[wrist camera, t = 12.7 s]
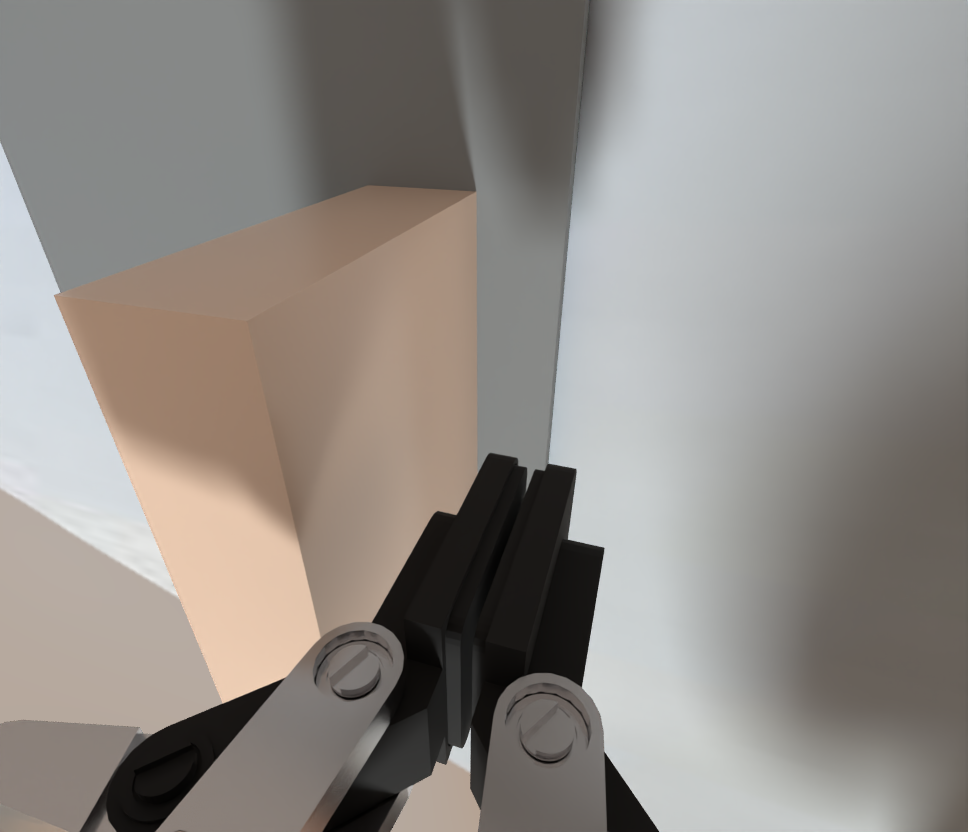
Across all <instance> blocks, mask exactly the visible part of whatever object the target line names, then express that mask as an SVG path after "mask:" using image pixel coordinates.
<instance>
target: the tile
mask: <svg viewBox="0 0 968 832" xmlns="http://www.w3.org/2000/svg"><path fill="white" fill-rule="evenodd" d="M54 297H55V299H56V302H57V304H58V306H59V309H60V311H61V314H62V316H63V319H64V321H65V323H66V326H67V328H68V331H69V333H70V335H71V338H72V340H73V343H74V345H75V347H76V350H77V352H78V355H79V357H80V360H81V362H82V364H83V367H84V369H85V372H86V374H87V376H88V379H89V381H90V384H91V386H92V388H93V391H94V393H95V396H96V398H97V401H98V403H99V405H100V408H101V410H102V413H103V415H104V417H105V420H106V422H107V425H108V427H109V430H110V432H111V434H112V437H113V439H114V442H115V444H116V446H117V449H118V451H119V454H120V456H121V458H122V461H123V463H124V466H125V468H126V471H127V473H128V475H129V478H130V480H131V483H132V485H133V487H134V490H135V492H136V495H137V497H138V499H139V502H140V504H141V507H142V509H143V512H144V514H145V516H146V519H147V521H148V524H149V526H150V528H151V531H152V533H153V536H154V538H155V541H156V543H157V545H158V548H159V550H160V553H161V555H162V557H163V560H164V562H165V565H166V567H167V569H168V572H169V574H170V577H171V579H172V582H173V584H174V586H175V589H176V591H177V594H178V596H179V598H180V601H181V603H182V606H183V608H184V610H185V613H186V615H187V618H188V620H189V623H190V625H191V627H192V630H193V632H194V635H195V637H196V639H197V642H198V644H199V647H200V649H201V651H202V654H203V656H204V659H205V661H206V664H207V666H208V668H209V671H210V673H211V676H212V678H213V680H214V683H215V685H216V688H217V690H218V693H219V695H220V697H221V700H222V702H223V703H225V702H228V701H230V700H233V699H235V698H237V697H240V696H242V695H245V694H247V693H249V692H252V691H254V690H257V689H259V688H261V687H264V686H266V685H269V684H271V683H274V682H276V681H278V680H281V679H283V678H286V677H287V676H288V674H289V673H290V672H291V671H292V670H293V668H294V667H295V666H296V665H297V664H298V662H299V661H300V660H301V659H302V658H303V657H304V655H305V654H306V653H307V652H308V651H309V649H310V648H311V647H312V646H313V645H314V644H315V643H316V642H317V641H318V640H319V639H320V638H321V637H322V636H324V635H325V634H326V633H328V632H330V631H331V630H333V629H335V628H337V627H339V626H342V625H346V624H349V623H353V622H370V623H372V621H373V619H374V617H375V616H376V614H377V612H378V610H379V609H380V607H381V605H382V603H383V602H384V600H385V598H386V596H387V595H388V593H389V591H390V589H391V587H392V586H393V584H394V582H395V580H396V579H397V577H398V575H399V573H400V572H401V570H402V568H403V566H404V564H405V563H406V561H407V559H408V557H409V556H410V554H411V552H412V550H413V549H414V547H415V545H416V543H417V542H418V540H419V538H420V536H421V534H422V533H423V531H424V529H425V527H426V526H427V524H428V522H429V520H430V519H431V517H432V516H433V514H434V513H435V512H437V511H441V512H445V513H450V514H454V515H457V513H458V511H459V509H460V508H461V506H462V504H463V502H464V500H465V498H466V496H467V494H468V492H469V490H470V488H471V486H472V484H473V482H474V480H475V478H476V476H477V474H478V469H477V193H476V191H459V190H441V189H424V188H407V187H390V186H373V185H367V186H364V187H362V188H359V189H356V190H353V191H350V192H347V193H344V194H342V195H339V196H336V197H333V198H330V199H327V200H324V201H322V202H319V203H316V204H313V205H310V206H307V207H304V208H302V209H299V210H296V211H293V212H290V213H287V214H285V215H282V216H279V217H276V218H273V219H270V220H267V221H265V222H262V223H259V224H256V225H253V226H250V227H247V228H245V229H242V230H239V231H236V232H233V233H230V234H227V235H225V236H222V237H219V238H216V239H213V240H210V241H207V242H205V243H202V244H199V245H196V246H193V247H190V248H187V249H185V250H182V251H179V252H176V253H173V254H170V255H167V256H165V257H162V258H159V259H156V260H153V261H150V262H147V263H145V264H142V265H139V266H136V267H133V268H130V269H128V270H125V271H122V272H119V273H116V274H113V275H110V276H108V277H105V278H102V279H99V280H96V281H93V282H90V283H88V284H85V285H82V286H79V287H76V288H73V289H70V290H68V291H65V292H62V293H59V294H56V295H54Z"/></svg>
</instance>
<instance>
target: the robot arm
mask: <svg viewBox="0 0 968 832" xmlns="http://www.w3.org/2000/svg"><path fill="white" fill-rule="evenodd" d="M575 480H576V469H573V468H568V467H563V466H558V465H553V464H547V466H546V468H545V471H543V470H538V469H535V470H534V472H533V475H532V478H531V481H530V483H529V486H528V489H527V491H526V485H527V467H523V466H518V458H516V457H511V456H505V455H500V454H495V453H489V454H488V455H487V457H486V459H485V461H484V463H483V465H482V466H481V468H480V470H479V472H478V474H477V476H476V478H475V480H474V482H473V484H472V486H471V488H470V490H469V492H468V494H467V496H466V498H465V500H464V502H463V504H462V506H461V508H460V509H459V511H458V513H457V515H454V514H450V513H445V512H441V511H437V512H435V513H434V514H433V516H432V517H431V519H430V520H429V522H428V524H427V526H426V527H425V529H424V531H423V533H422V534H421V536H420V538H419V540H418V542H417V543H416V545H415V547H414V549H413V550H412V552H411V554H410V556H409V557H408V559H407V561H406V563H405V564H404V566H403V568H402V570H401V572H400V573H399V575H398V577H397V579H396V580H395V582H394V584H393V586H392V587H391V589H390V591H389V593H388V595H387V596H386V598H385V600H384V602H383V603H382V605H381V607H380V609H379V610H378V612H377V614H376V616H375V617H374V619H373V621H372V623H370V622H353V623H349V624H346V625H342V626H339V627H337V628H335V629H333V630H331V631H330V632H328V633H326V634H325V635H324V636H322V637H321V638H320V639H319V640H318V641H317V642H316V643H315V644H314V645H313V646H312V647H311V648H310V649H309V651H308V652H307V653H306V654H305V655H304V657H303V658H302V659H301V660H300V661H299V662H298V664H297V665H296V666H295V667H294V668H293V670H292V671H291V672H290V673H289V674H288V676H287V677H286V678H283V679H281V680H278V681H276V682H274V683H271V684H269V685H266V686H264V687H261V688H259V689H257V690H254V691H252V692H249V693H247V694H245V695H242V696H240V697H237V698H235V699H233V700H230V701H228V702H225V703H223V704H221V705H218V706H216V707H213V708H211V709H209V710H206V711H204V712H201V713H199V714H197V715H194V716H192V717H189V718H187V719H185V720H182V721H180V722H178V723H175V724H173V725H170V726H168V727H166V728H164V729H162V730H160V731H158V732H157V733H155V734H143V732H142V730H141V729H140V727H128V726H127V727H126V726H112V725H96V724H79V723H64V722H48V721H31V720H18V721H10V722H4V723H2V724H0V832H390V831H391V830H392V828H393V826H394V824H395V822H396V820H397V819H398V817H399V815H400V813H401V811H402V809H403V807H404V806H405V804H406V802H407V800H408V798H409V795H410V793H411V790H412V787H413V785H414V784H415V783H417V782H419V781H421V780H423V779H425V778H427V777H428V776H430V775H431V774H432V771H433V768H434V766H435V763H436V761H437V762H439V763H442V764H445V765H446V764H447V761H448V758H449V755H450V752H451V749H452V746H456V747H459V748H463V747H464V745H465V743H466V740H467V737H468V734H469V731H470V728H471V779H470V781H471V782H470V789H471V791H472V793H473V795H474V797H475V799H476V801H477V804H478V806H479V808H480V810H481V813H480V820H479V829H478V832H659V831H658V829H657V828H656V826H655V825H654V823H653V822H652V820H651V819H650V817H649V816H648V815H647V813H646V812H645V810H644V809H643V807H642V806H641V804H640V803H639V801H638V800H637V799H636V797H635V796H634V794H633V793H632V791H631V790H630V788H629V787H628V785H627V784H626V782H625V781H624V780H623V778H622V777H621V775H620V774H619V772H618V771H617V769H616V768H615V766H614V765H613V764H612V762H611V761H610V759H609V758H608V756H607V755H606V753H605V752H604V732H603V726H602V721H601V716H600V713H599V711H598V709H597V707H596V705H595V703H594V702H593V700H592V698H591V697H590V696H589V695H588V694H587V693H586V692H585V691H584V690H583V689H582V683H583V677H584V671H585V665H586V658H587V652H588V646H589V640H590V634H591V628H592V622H593V616H594V610H595V604H596V598H597V592H598V585H599V579H600V573H601V567H602V561H603V555H604V548H603V547H598V546H594V545H589V544H585V543H580V542H576V541H571V540H568V533H569V526H570V518H571V510H572V503H573V495H574V488H575Z"/></svg>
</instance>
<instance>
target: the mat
mask: <svg viewBox="0 0 968 832" xmlns="http://www.w3.org/2000/svg"><path fill="white" fill-rule="evenodd" d="M589 4H590V0H0V142H1V144H2V147H3V149H4V152H5V154H6V157H7V159H8V162H9V164H10V167H11V169H12V172H13V174H14V177H15V179H16V182H17V184H18V187H19V189H20V192H21V194H22V197H23V199H24V202H25V204H26V207H27V209H28V212H29V214H30V217H31V219H32V222H33V224H34V227H35V229H36V232H37V234H38V237H39V239H40V242H41V244H42V247H43V249H44V252H45V254H46V257H47V259H48V262H49V264H50V267H51V269H52V272H53V274H54V277H55V279H56V282H57V284H58V287H59V289H60V292H61V293H62V292H65V291H68V290H70V289H73V288H76V287H79V286H82V285H85V284H88V283H90V282H93V281H96V280H99V279H102V278H105V277H108V276H110V275H113V274H116V273H119V272H122V271H125V270H128V269H130V268H133V267H136V266H139V265H142V264H145V263H147V262H150V261H153V260H156V259H159V258H162V257H165V256H167V255H170V254H173V253H176V252H179V251H182V250H185V249H187V248H190V247H193V246H196V245H199V244H202V243H205V242H207V241H210V240H213V239H216V238H219V237H222V236H225V235H227V234H230V233H233V232H236V231H239V230H242V229H245V228H247V227H250V226H253V225H256V224H259V223H262V222H265V221H267V220H270V219H273V218H276V217H279V216H282V215H285V214H287V213H290V212H293V211H296V210H299V209H302V208H304V207H307V206H310V205H313V204H316V203H319V202H322V201H324V200H327V199H330V198H333V197H336V196H339V195H342V194H344V193H347V192H350V191H353V190H356V189H359V188H362V187H364V186H367V185H373V186H390V187H407V188H424V189H441V190H459V191H476V193H477V469H478V472H479V470H480V468H481V466H482V465H483V463H484V461H485V459H486V457H487V455H488V454H489V453H495V454H500V455H505V456H511V457H516V458H518V466H523V467H527V485H526V491H527V489H528V486H529V483H530V481H531V478H532V475H533V472H534V470H535V469H538V470H543V471H545V468H546V466H547V464H548V460H549V449H550V438H551V427H552V415H553V404H554V393H555V382H556V371H557V360H558V349H559V338H560V326H561V315H562V304H563V293H564V282H565V271H566V260H567V249H568V238H569V226H570V215H571V204H572V193H573V182H574V171H575V160H576V149H577V138H578V126H579V115H580V104H581V93H582V82H583V71H584V60H585V49H586V37H587V26H588V15H589Z"/></svg>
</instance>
